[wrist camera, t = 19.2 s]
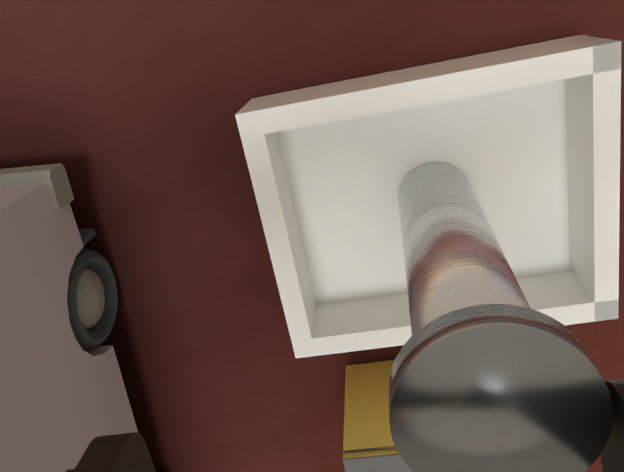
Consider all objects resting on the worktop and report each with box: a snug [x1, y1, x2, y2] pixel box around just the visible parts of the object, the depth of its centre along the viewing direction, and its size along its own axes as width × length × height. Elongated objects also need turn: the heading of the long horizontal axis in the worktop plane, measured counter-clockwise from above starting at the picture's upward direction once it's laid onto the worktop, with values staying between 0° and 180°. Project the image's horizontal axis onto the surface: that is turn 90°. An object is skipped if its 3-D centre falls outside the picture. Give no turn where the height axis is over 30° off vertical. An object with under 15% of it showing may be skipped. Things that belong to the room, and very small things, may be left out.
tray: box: [235, 35, 621, 358], centre depth 18 cm, size 10×8×3 cm
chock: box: [343, 360, 413, 472], centre depth 21 cm, size 5×4×5 cm
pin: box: [389, 161, 613, 472], centre depth 14 cm, size 3×3×11 cm
